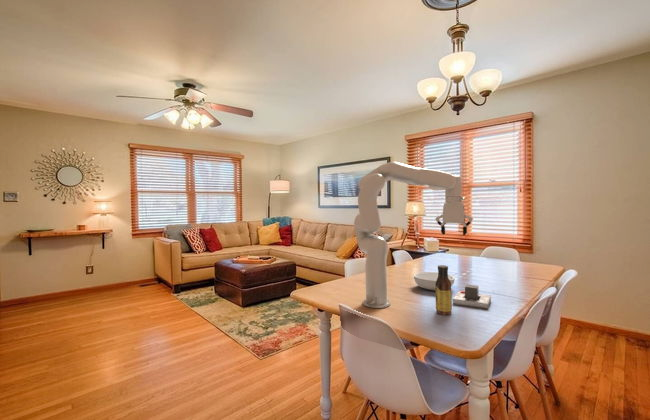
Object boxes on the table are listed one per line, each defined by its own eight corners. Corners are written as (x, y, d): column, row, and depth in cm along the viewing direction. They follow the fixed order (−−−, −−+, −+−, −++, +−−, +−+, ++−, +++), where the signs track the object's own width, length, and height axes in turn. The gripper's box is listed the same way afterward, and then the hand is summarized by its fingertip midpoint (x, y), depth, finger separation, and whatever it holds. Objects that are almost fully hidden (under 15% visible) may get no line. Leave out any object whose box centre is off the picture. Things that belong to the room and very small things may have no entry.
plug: (477, 303, 138) (477, 288, 138) (465, 302, 141) (464, 286, 141) (478, 300, 142) (478, 285, 142) (466, 299, 145) (466, 284, 145)
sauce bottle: (438, 309, 133) (438, 263, 132) (453, 312, 129) (453, 265, 129) (433, 313, 128) (432, 266, 127) (448, 317, 124) (448, 267, 123)
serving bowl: (448, 296, 152) (448, 282, 152) (407, 290, 164) (407, 277, 164) (459, 287, 168) (459, 274, 168) (421, 282, 181) (421, 270, 181)
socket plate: (487, 309, 132) (487, 302, 132) (452, 304, 139) (452, 297, 139) (490, 300, 143) (490, 294, 143) (458, 296, 151) (458, 290, 151)
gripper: (473, 200, 151) (474, 234, 151) (437, 200, 160) (437, 233, 161) (471, 199, 145) (471, 236, 145) (433, 200, 154) (434, 234, 154)
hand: (453, 234), depth 153 cm, fingers open, 9 cm apart
